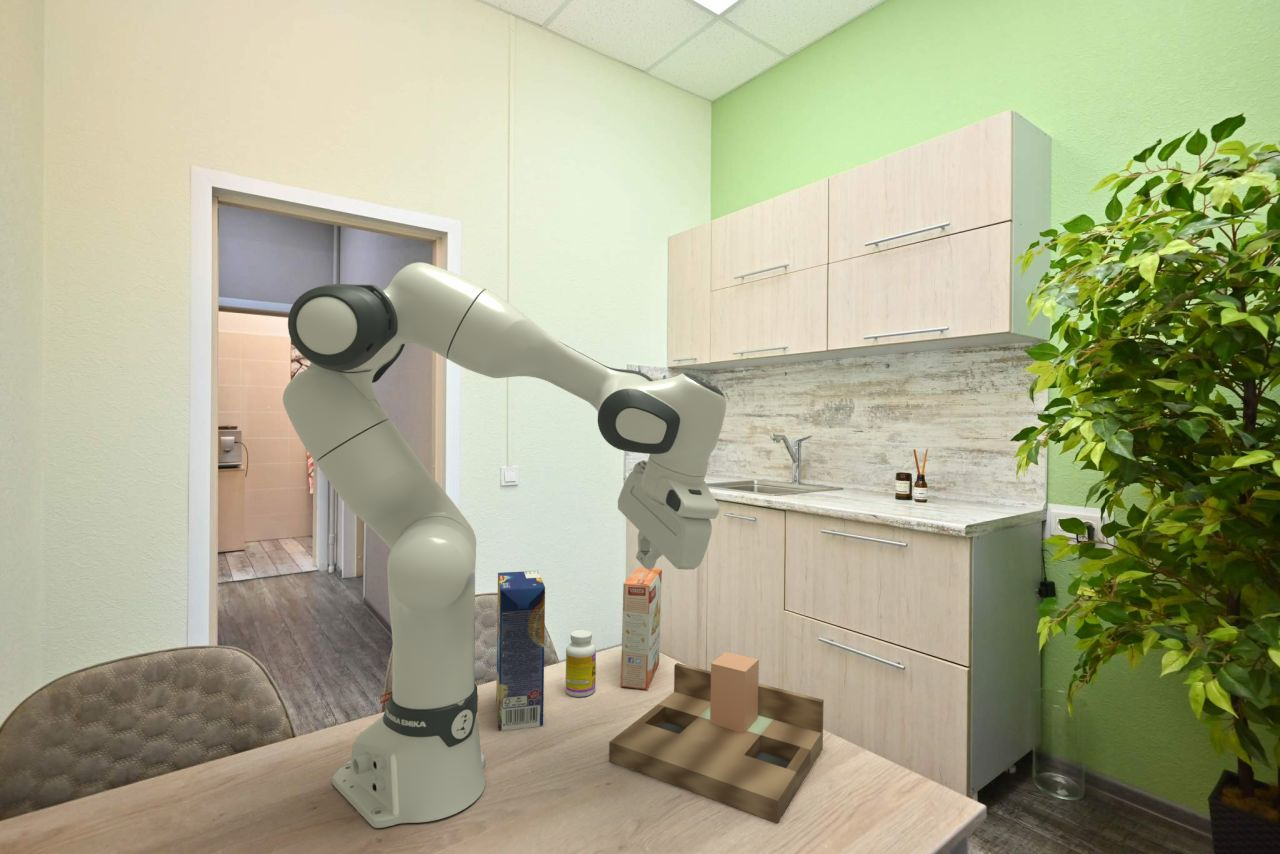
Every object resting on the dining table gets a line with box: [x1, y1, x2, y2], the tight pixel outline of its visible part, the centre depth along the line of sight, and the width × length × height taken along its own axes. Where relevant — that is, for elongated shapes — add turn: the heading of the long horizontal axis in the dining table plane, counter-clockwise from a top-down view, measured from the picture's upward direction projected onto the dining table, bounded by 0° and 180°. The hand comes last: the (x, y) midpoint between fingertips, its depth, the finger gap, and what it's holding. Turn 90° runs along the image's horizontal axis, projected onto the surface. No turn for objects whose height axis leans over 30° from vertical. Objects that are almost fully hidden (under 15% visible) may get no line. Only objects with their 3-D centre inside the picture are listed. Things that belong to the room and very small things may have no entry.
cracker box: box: [620, 567, 663, 691], centre depth 127 cm, size 14×6×21 cm, turn 168°
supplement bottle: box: [564, 629, 597, 698], centre depth 119 cm, size 6×6×11 cm
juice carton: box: [495, 570, 546, 732], centre depth 110 cm, size 12×8×24 cm, turn 15°
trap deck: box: [608, 662, 825, 824], centre depth 98 cm, size 27×22×8 cm
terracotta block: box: [710, 651, 760, 734], centre depth 102 cm, size 6×6×10 cm
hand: (644, 564), depth 95 cm, fingers closed
